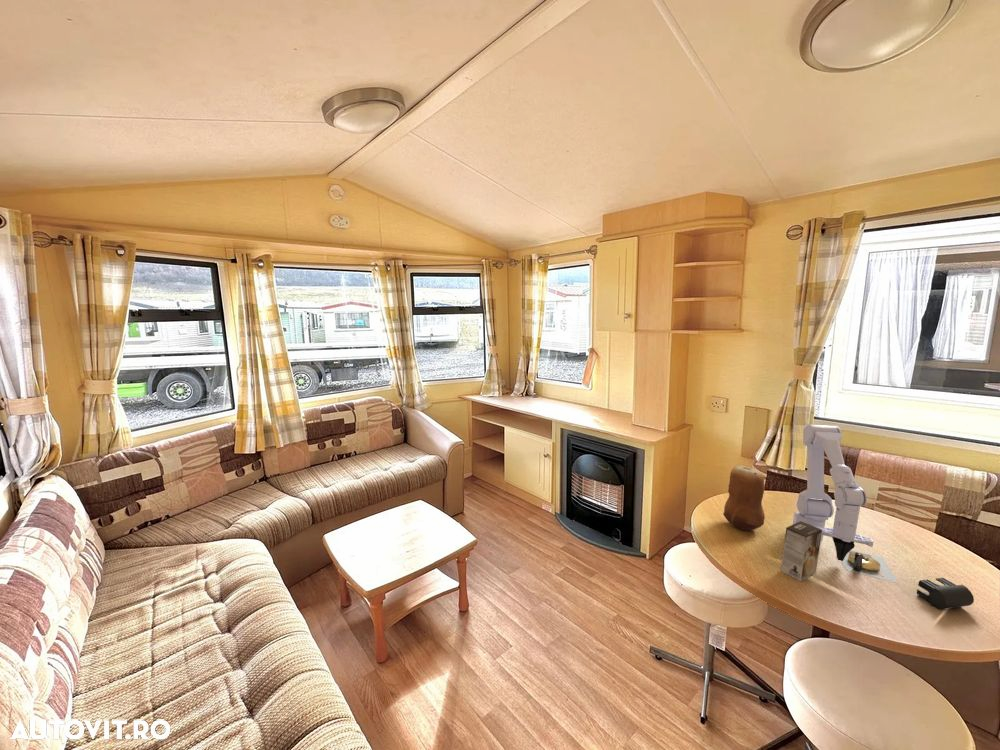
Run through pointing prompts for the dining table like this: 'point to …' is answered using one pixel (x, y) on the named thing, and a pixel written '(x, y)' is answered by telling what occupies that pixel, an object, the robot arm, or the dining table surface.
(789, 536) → the coffee box
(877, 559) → the board
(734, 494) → the butternut squash
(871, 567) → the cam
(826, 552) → the dining table surface
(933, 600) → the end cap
